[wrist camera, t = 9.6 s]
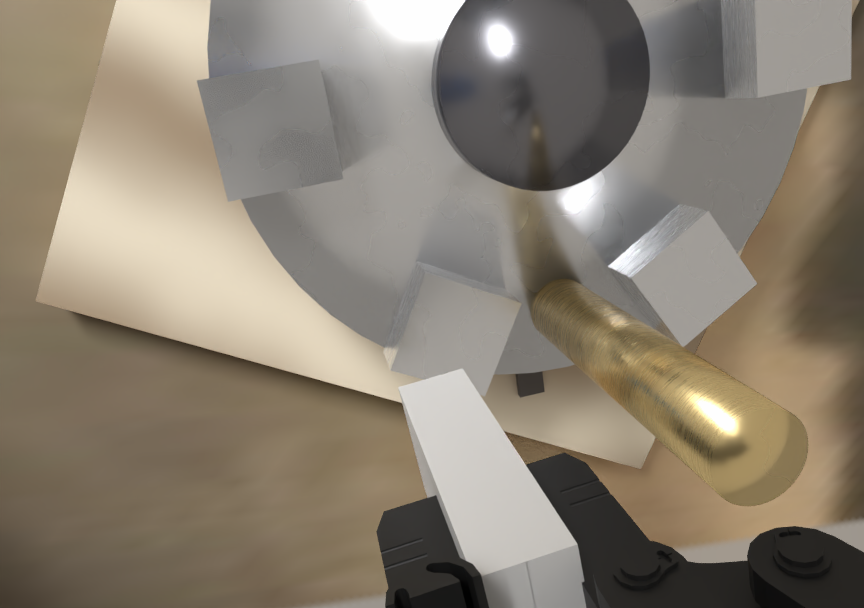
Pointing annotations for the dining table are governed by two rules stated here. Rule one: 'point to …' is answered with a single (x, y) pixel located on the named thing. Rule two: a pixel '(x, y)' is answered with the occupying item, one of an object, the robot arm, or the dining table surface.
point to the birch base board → (241, 246)
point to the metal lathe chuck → (532, 186)
